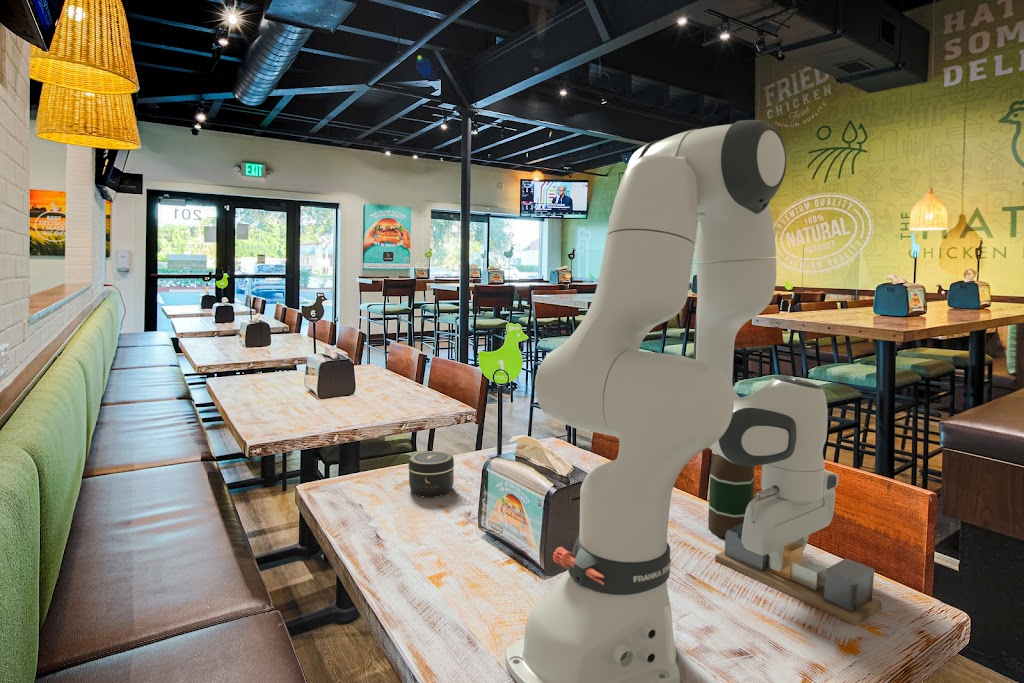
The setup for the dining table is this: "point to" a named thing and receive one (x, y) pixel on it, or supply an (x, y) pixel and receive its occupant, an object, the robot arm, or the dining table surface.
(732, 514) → the beer bottle
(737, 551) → the grey u-shaped bracket
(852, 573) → the socket
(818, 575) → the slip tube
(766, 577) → the board
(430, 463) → the jar
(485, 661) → the dining table surface
